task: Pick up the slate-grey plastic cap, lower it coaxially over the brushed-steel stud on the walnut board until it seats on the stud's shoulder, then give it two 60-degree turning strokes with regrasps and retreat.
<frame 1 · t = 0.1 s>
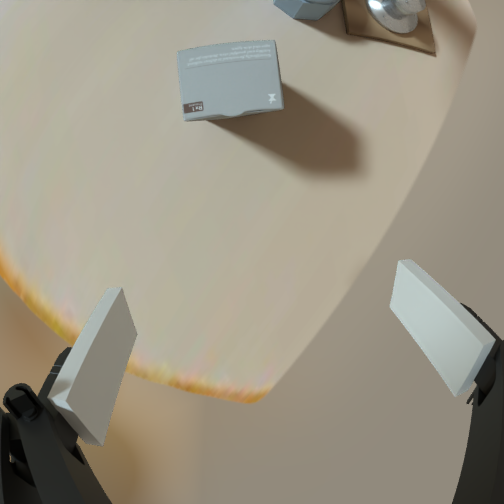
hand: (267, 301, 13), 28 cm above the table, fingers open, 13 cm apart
base board: (388, 11, 28), on the table
stud: (401, 3, 24), on the base board, point 4 cm above the table
skincare box: (230, 96, 33), on the table
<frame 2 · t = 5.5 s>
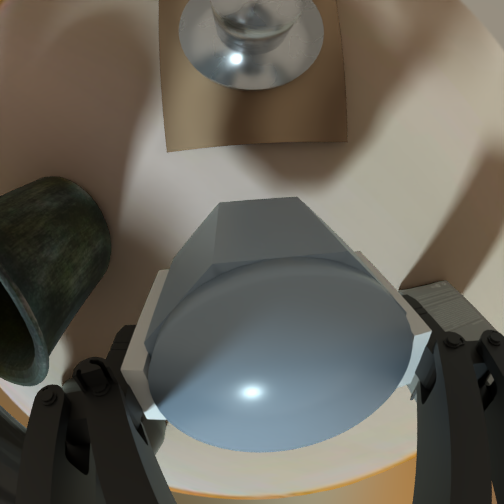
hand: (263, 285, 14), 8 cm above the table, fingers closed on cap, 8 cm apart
base board: (250, 34, 15), on the table
cap: (263, 282, 14), point 7 cm above the table, touching gripper
stud: (254, 12, 11), on the base board, point 4 cm above the table
skincare box: (416, 315, 26), on the table
mug: (49, 223, 20), on the table
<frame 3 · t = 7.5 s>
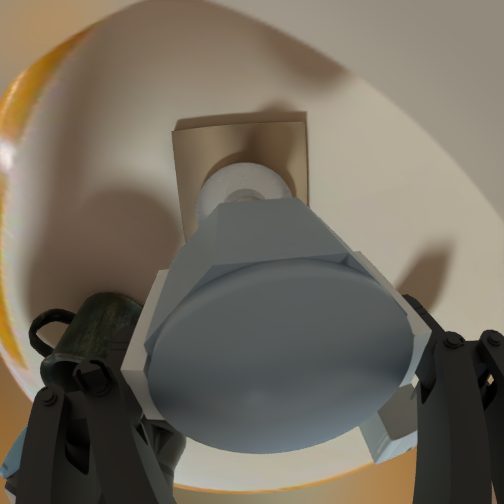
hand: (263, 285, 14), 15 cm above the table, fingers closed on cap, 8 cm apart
base board: (244, 206, 28), on the table
cap: (263, 283, 14), point 15 cm above the table, touching gripper
stud: (247, 219, 24), on the base board, point 4 cm above the table
skincare box: (362, 363, 39), on the table
mug: (108, 317, 32), on the table
when the fingers open (3 cm above the table, at t = 10.0 s): cap stays where it is, resting on stud.
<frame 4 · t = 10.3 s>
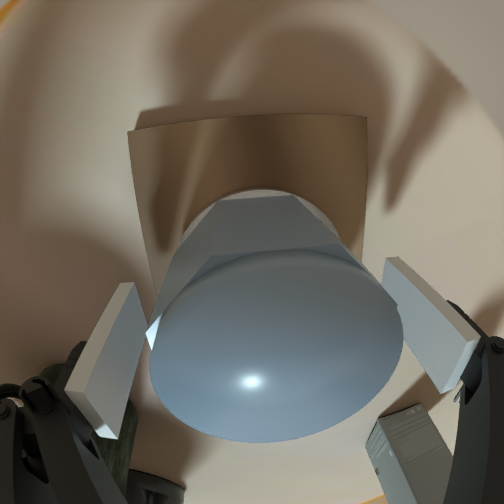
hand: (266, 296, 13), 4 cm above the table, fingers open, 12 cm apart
base board: (257, 260, 17), on the table
cap: (260, 277, 15), point 2 cm above the table, touching stud
stud: (267, 301, 13), on the base board, point 4 cm above the table
skincare box: (393, 424, 28), on the table
mug: (73, 388, 21), on the table
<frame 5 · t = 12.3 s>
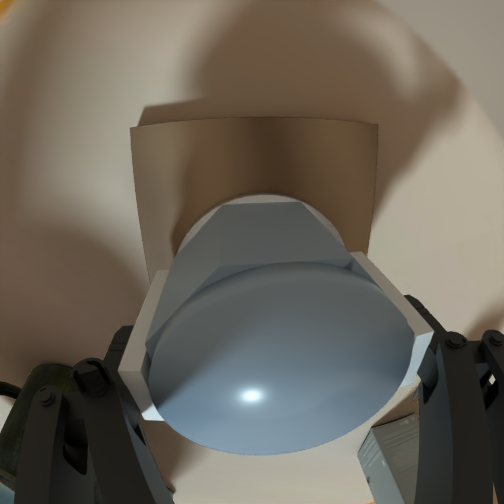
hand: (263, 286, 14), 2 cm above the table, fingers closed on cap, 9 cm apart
base board: (259, 267, 16), on the table
cap: (262, 285, 14), point 2 cm above the table, touching gripper, stud
stud: (269, 311, 12), on the base board, point 4 cm above the table
skincare box: (386, 433, 28), on the table
mug: (65, 388, 20), on the table
when the fingers open (2 cm above the table, at t = 13.0 s): cap stays where it is, resting on stud.
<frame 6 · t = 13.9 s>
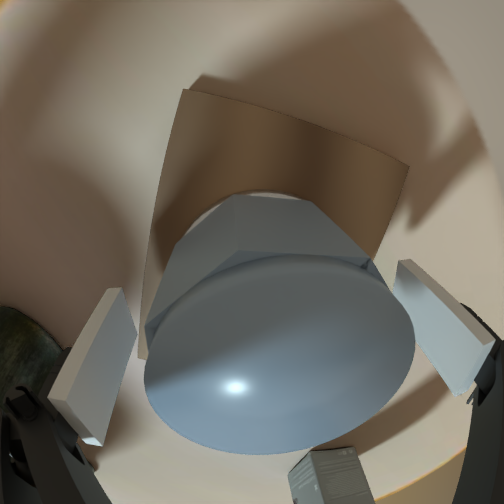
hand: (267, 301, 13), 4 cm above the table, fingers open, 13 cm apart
base board: (259, 266, 16), on the table
cap: (262, 281, 14), point 2 cm above the table, touching stud
stud: (269, 310, 12), on the base board, point 4 cm above the table
skincare box: (321, 460, 28), on the table
mug: (16, 337, 17), on the table
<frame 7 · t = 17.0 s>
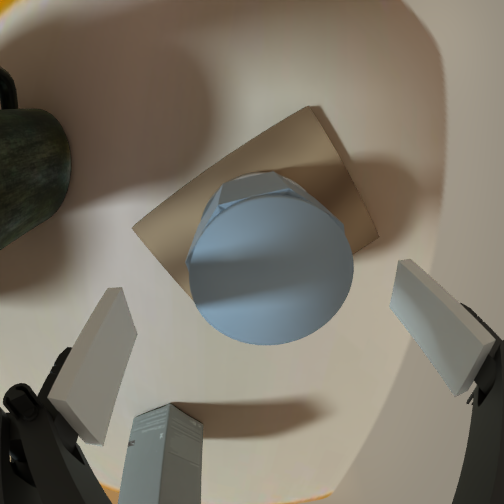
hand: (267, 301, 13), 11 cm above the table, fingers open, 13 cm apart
base board: (259, 226, 23), on the table
cap: (261, 233, 21), point 2 cm above the table, touching stud
skincare box: (168, 421, 33), on the table
mug: (33, 147, 18), on the table
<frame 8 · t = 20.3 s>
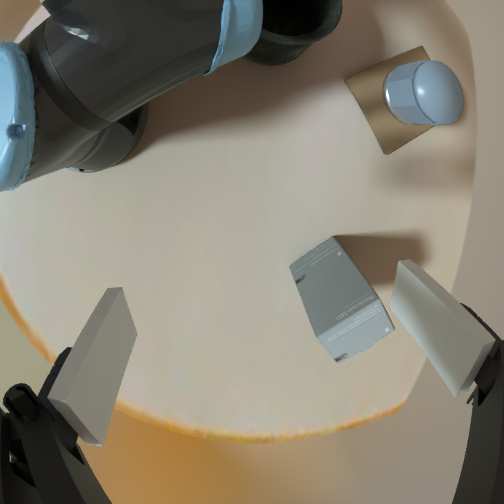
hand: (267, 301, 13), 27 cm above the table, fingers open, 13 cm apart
base board: (404, 96, 33), on the table
cap: (411, 94, 31), point 2 cm above the table, touching stud
stud: (420, 94, 29), on the base board, point 4 cm above the table
skincare box: (319, 267, 43), on the table
mug: (270, 22, 28), on the table
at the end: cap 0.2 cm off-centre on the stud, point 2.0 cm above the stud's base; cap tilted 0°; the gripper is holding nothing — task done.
